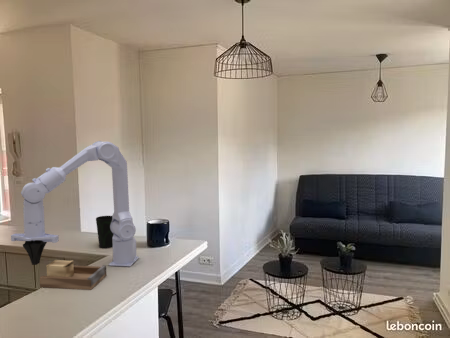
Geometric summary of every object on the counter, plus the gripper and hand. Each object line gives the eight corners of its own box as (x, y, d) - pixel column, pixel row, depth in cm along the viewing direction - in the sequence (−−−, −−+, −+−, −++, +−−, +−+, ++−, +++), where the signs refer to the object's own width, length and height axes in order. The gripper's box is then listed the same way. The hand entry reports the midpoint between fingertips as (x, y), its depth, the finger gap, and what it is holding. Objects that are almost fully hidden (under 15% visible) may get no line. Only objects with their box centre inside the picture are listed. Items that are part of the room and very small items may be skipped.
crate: (56, 273, 119) (55, 259, 119) (74, 274, 119) (73, 260, 118) (46, 279, 114) (46, 265, 114) (65, 280, 114) (65, 266, 113)
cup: (94, 245, 153) (93, 217, 152) (112, 242, 158) (111, 214, 157) (100, 250, 147) (99, 220, 146) (119, 247, 152) (118, 218, 151)
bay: (59, 273, 123) (59, 263, 122) (106, 275, 121) (106, 265, 121) (40, 287, 112) (39, 276, 111) (91, 289, 110) (90, 278, 110)
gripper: (3, 223, 112) (5, 267, 114) (49, 225, 111) (50, 269, 112) (18, 218, 119) (20, 259, 121) (61, 219, 118) (62, 261, 119)
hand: (35, 263), depth 117 cm, fingers closed
